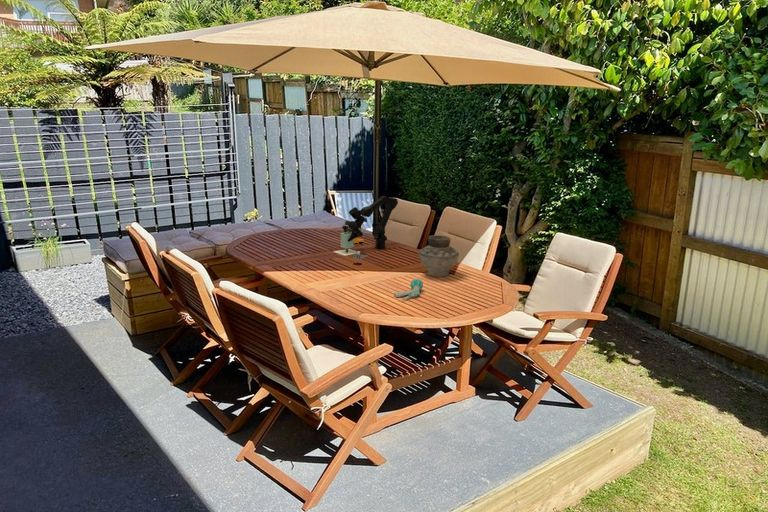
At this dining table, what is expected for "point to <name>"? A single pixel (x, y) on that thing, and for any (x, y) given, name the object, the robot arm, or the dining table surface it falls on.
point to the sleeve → (346, 240)
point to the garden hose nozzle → (416, 287)
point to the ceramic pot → (438, 256)
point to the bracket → (357, 239)
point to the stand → (358, 255)
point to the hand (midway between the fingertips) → (345, 240)
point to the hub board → (346, 252)
